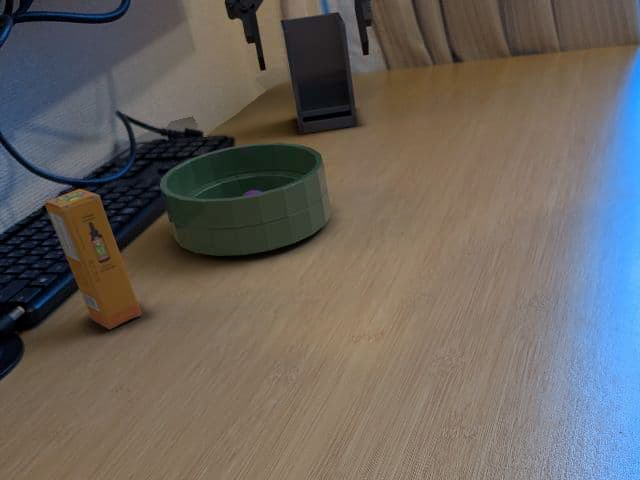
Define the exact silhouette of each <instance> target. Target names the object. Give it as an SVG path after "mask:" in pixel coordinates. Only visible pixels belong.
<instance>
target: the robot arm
mask: <svg viewBox="0 0 640 480" xmlns="http://www.w3.org/2000/svg"><path fill="white" fill-rule="evenodd" d="M371 1H372V0H354V2H353V3H354V4H353V5H354V13H355V14H354V15H355V18H356V24H357V29H358V35H359V40H360V45H361V52H362V56H363V57H365V56H370V40H369V35H368V30H367V29H368V27H373V10H372V6H371ZM263 2H264V0H224V7H225V11H226V15H227V18H228V19H229V20H231V21H233V20H237V19H238V20H240V21H241V23H242V29H243V34H244V38H245V41H246V43H247V44H248V45H251V44H254V46H255V52H256V57H257V61H258V66H259V71H260V72H262V71H263V72H264V71H267V68H266V67H267V66H266V61H265V55H264V51H263V44H262V39H261V38H262V37H261V33H260V27H259V22H258V17H257V12H258V10H259V9H260V7H261V5H262V4H263Z"/></svg>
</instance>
